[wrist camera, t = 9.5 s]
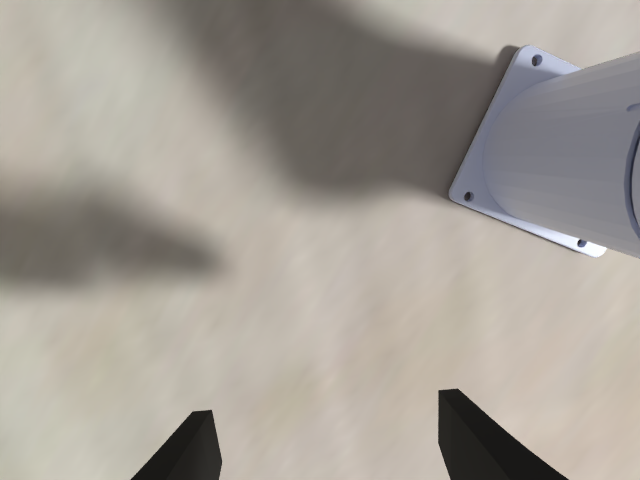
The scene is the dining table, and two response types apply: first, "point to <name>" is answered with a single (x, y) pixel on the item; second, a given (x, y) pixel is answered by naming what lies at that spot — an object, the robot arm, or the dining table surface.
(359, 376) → the dining table surface
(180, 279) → the dining table surface
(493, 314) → the dining table surface
